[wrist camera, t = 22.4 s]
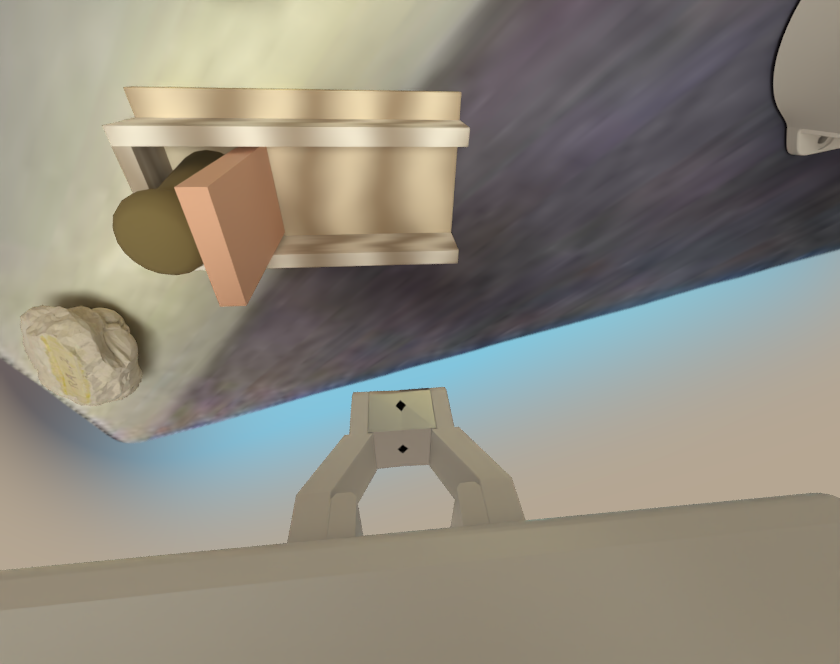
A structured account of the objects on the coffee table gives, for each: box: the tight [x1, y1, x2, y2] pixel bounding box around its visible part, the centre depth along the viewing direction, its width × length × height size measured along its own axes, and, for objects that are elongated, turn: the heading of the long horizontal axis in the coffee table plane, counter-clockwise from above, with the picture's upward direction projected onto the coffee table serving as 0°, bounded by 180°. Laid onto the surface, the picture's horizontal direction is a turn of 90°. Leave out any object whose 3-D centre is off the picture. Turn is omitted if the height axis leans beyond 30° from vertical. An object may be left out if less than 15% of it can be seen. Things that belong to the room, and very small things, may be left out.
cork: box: [113, 150, 225, 275], centre depth 25 cm, size 6×6×11 cm
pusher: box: [174, 147, 285, 307], centre depth 25 cm, size 2×7×12 cm, turn 179°
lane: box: [102, 87, 470, 270], centre depth 29 cm, size 24×14×5 cm, turn 89°
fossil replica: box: [20, 305, 142, 406], centre depth 35 cm, size 12×8×10 cm
